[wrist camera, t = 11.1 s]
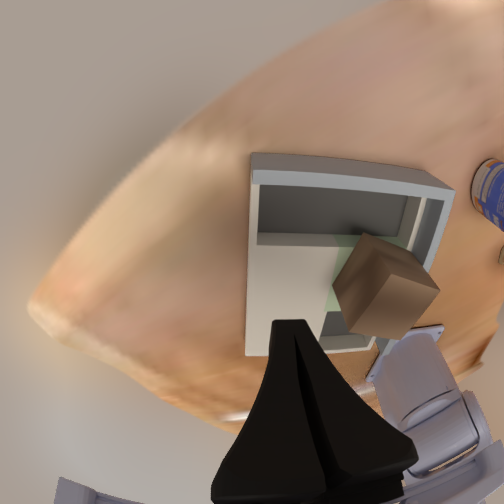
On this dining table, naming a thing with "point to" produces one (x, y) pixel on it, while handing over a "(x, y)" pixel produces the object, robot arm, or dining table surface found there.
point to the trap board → (329, 237)
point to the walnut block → (382, 289)
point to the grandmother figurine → (501, 256)
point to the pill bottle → (490, 191)
